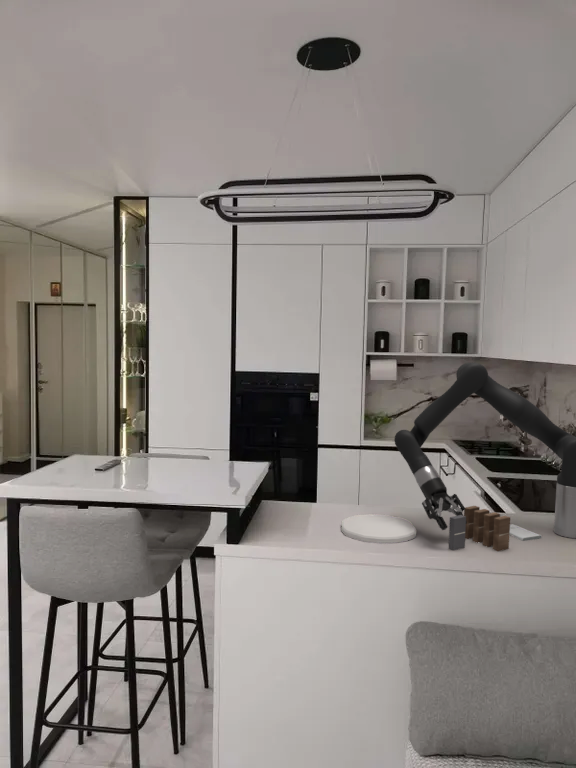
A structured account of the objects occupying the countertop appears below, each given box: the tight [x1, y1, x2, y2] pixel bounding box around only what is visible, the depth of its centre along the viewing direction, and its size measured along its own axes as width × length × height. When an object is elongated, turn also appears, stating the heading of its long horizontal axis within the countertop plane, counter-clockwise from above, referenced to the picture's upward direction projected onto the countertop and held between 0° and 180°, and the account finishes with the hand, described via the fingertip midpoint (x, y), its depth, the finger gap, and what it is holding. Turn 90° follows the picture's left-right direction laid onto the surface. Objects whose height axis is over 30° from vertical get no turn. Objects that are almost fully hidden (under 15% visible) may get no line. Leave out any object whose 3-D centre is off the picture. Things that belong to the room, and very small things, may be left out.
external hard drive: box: [509, 523, 543, 542], centre depth 193 cm, size 2×8×12 cm
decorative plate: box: [341, 513, 417, 544], centre depth 192 cm, size 25×4×25 cm
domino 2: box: [463, 505, 481, 540], centre depth 188 cm, size 2×5×10 cm, turn 121°
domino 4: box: [482, 512, 501, 548], centre depth 181 cm, size 2×5×10 cm, turn 121°
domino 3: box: [472, 508, 490, 544], centre depth 184 cm, size 2×5×10 cm, turn 121°
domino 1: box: [448, 514, 466, 551], centre depth 177 cm, size 2×5×10 cm, turn 121°
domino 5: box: [492, 515, 511, 552], centre depth 177 cm, size 2×5×10 cm, turn 121°
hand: (455, 526), depth 178 cm, fingers open, 8 cm apart
